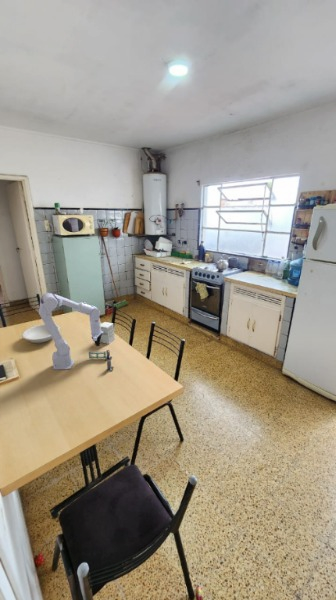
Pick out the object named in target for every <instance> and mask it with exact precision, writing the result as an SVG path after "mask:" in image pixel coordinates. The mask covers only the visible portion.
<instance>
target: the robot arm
mask: <svg viewBox="0 0 336 600" xmlns="http://www.w3.org/2000/svg"><path fill="white" fill-rule="evenodd" d="M61 306H67V307H69V308H73V309H76V312H78V313H81V314H83V315H87V316H88V317H89V324H90V325H89V326H90V331H91V332H90V334H91V339H92V341H93V342H94V344H95V346H96V347H100V345H101V342H100V339H101V336H102V334H103V331H101V318H100V315H101V311H100V309H99V308H98V307H96V306H95V305H93V304H88V303H87V302H85V301H83V302H81V301H80V302H76V301H74V300H71V299H69V298H66V297H63V296H61V295H58V294H53V293H51V292H46V293H44V294H43V295H42V296H41V298H40V300H39V308H38V309H39V310H38V314H39V317H40V318H41V320H42V322H43V324H45V326H46V327H47V329H48V331H49V333H50V335H51V336H52V340H53V342H54V347H55V348H56V351H54V352H53V353H52V356H51V359H52V365H53V370H71V368H72V367H73V365H74V363H75V360H72V358H71V357H72V356H71V348H70V346H69V344H68V343H67V341H66V339H64V338H63V337H62V334H61V333H60V330H59V331H58V329H57V327H56V325H57V324H56V323H55V321H54V320H53V318H52V316H51V313H52V312H53V310H55V309H56V308H57V307H61ZM55 324H56V325H55Z"/></svg>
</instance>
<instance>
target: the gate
mask: <svg viewBox="0 0 336 600" xmlns="http://www.w3.org/2000/svg"><path fill="white" fill-rule="evenodd" d="M106 351H107V350H106ZM106 351H105V350H104V351H88V358H89V360H90V359H91V360H92V359H106V357H107V353H106Z"/></svg>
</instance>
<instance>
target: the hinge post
mask: <svg viewBox="0 0 336 600" xmlns="http://www.w3.org/2000/svg"><path fill="white" fill-rule="evenodd" d="M110 355H111V354H110V349H109V350H108V349H107V350H106V358H104V359H105V360H104V361H105V362H107V360H111V361H112V358H113V356H110Z"/></svg>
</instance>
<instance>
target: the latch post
mask: <svg viewBox="0 0 336 600" xmlns="http://www.w3.org/2000/svg"><path fill="white" fill-rule="evenodd" d="M106 366H107V369H106V371H107V372H113V371H114V366H112V359H111V360H106Z"/></svg>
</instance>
